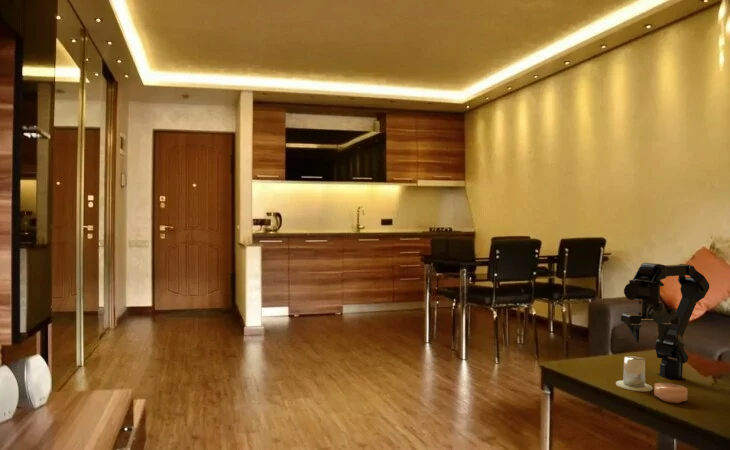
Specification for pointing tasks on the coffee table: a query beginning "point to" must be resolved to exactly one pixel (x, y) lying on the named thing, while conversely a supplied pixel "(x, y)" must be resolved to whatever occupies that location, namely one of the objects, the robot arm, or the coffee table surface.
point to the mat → (646, 388)
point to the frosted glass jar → (634, 371)
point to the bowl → (670, 392)
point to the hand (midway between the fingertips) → (649, 343)
